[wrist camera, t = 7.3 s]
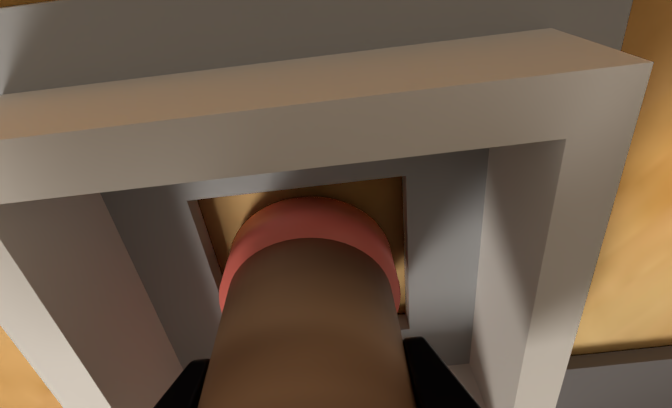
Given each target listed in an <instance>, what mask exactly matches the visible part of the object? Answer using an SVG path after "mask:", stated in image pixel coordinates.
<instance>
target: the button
mask: <svg viewBox="0 0 672 408" xmlns="http://www.w3.org/2000/svg"><path fill="white" fill-rule="evenodd" d="M297 238H324V239H330V240H335V241H339V242H343V243H346V244H348V245H351V246H353V247H356V248H357V249H359V250H361V251H363V252H365V253H366V254H367V255H369V256H370V257H371V258H373V259H374V260H375V261H376V262H377V263H378V264H379V265H380V267H381V268H382V269H383V271H384V272H385V274H386V276H387V278H388V280H389V283H390V286H391V289H392V294H393V298H394V303H395V307H396V312H398V309H399V304H400V286H399V281H398V277H397V273H396V269H395V265H394V261H393V257H392V253H391V249H390V246H389V242H388V240H387V238H386V236H385V234H384V232H383V231H382V229H381V228H380V226H379V225H378V224H377V223H376V222H375V221H374V220H373V219H372V218H371V217H370V216H368V215H367V214H366V213H365V212H363V211H361V210H360V209H358V208H356V207H354V206H352V205H350V204H347V203H345V202H342V201H339V200H335V199H330V198H324V197H311V196H310V197H297V198H291V199H286V200H283V201H279V202H276V203H274V204H271V205H269V206H267V207H265V208H263V209H262V210H260V211H258V212H257V213H255V214H254V215H253V216H252V217H250V218H249V219H248V220H247V221H246V222H245V223H244V224H243V225H242V227H241V228H240V229H239V231H238V232H237V234H236V236H235V238H234V240H233V242H232V246H231V249H230V253H229V256H228V260H227V263H226V267H225V270H224V274H223V277H222V281H221V284H220V289H219V304H220V308H221V312H223V308H224V304H225V300H226V296H227V293H228V289H229V286H230V282H231V280H232V278H233V276H234V274H235V272H236V271H237V270H238V268H239V267H240V266H241V265H242V264H243V263H244V262H245V261H246V260H247V259H248V258H249V257H251V256H252V255H253V254H255V253H256V252H258V251H260V250H261V249H263V248H265V247H268V246H270V245H272V244H275V243H278V242H282V241H285V240H291V239H297Z"/></svg>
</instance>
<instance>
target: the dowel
mask: <svg viewBox="0 0 672 408" xmlns="http://www.w3.org/2000/svg"><path fill="white" fill-rule="evenodd" d="M198 408H418V407H417V403H416V399H415V394H414V390H413V385H412V381H411V376H410V372H409V367H408V363H407V358H406V354H405V349H404V344H403V339H402V335H401V330H400V325H399V321H398V316H397V312H396V307H395V303H394V298H393V294H392V289H391V286H390V283H389V280H388V278H387V276H386V274H385V272H384V271H383V269H382V268H381V267H380V265H379V264H378V263H377V262H376V261H375V260H374V259H373V258H371V257H370V256H369V255H367V254H366V253H365V252H363V251H361V250H359V249H357V248H356V247H353V246H351V245H348V244H346V243H343V242H339V241H335V240H330V239H324V238H297V239H291V240H285V241H282V242H278V243H275V244H272V245H270V246H268V247H265V248H263V249H261V250H260V251H258V252H256V253H255V254H253V255H252V256H251V257H249V258H248V259H247V260H246V261H245V262H244V263H243V264H242V265H241V266H240V267H239V268H238V270H237V271H236V272H235V274H234V276H233V278H232V280H231V282H230V286H229V289H228V293H227V296H226V300H225V304H224V308H223V312H222V316H221V320H220V323H219V327H218V331H217V335H216V339H215V343H214V346H213V350H212V354H211V358H210V362H209V366H208V370H207V373H206V377H205V381H204V385H203V389H202V393H201V396H200V400H199V404H198Z"/></svg>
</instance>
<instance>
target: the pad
mask: <svg viewBox="0 0 672 408" xmlns="http://www.w3.org/2000/svg"><path fill="white" fill-rule="evenodd" d="M556 408H672V346H664V347H654V348H644V349H635V350H625V351H615V352H606V353H596V354H587V355H577V356H570V358H569V362H568V365H567V369H566V372H565V376H564V379H563V383H562V386H561V390H560V393H559V397H558V400H557V404H556Z"/></svg>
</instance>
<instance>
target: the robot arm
mask: <svg viewBox="0 0 672 408" xmlns="http://www.w3.org/2000/svg"><path fill="white" fill-rule="evenodd" d="M403 344H404V349H405V354H406V358H407V363H408V367H409V372H410V376H411V381H412V385H413V390H414V394H415V399H416V403H417V407H418V408H481V407H480V406H479V405H478V403H477V402H476V401H475V400H474V398H473V397H472V396H471V395H470V393H469V392H468V391H467V390H466V389H465V387H464V386H463V385H462V384H461V382H460V381H459V380H458V379H457V377H456V376H455V375H454V374H453V373H452V371H451V370H450V369H449V368H448V366H447V365H446V364H445V363H444V361H443V360H442V359H441V358H440V357H439V355H438V354H437V353H436V352H435V350H434V349H433V348H432V347H431V345H430V344H429V343H428V342H427V340H426V339H425V338H424V337H422V336H415V337H406V338H404V340H403ZM209 362H210V359H209V358H206V359H197V360H193V361H191V362H190V363H189V364H188V365H187V366H186V367H185V369H184V370H183V371H182V372H181V374H180V375H179V376H178V377H177V379H176V380H175V381H174V382H173V384H172V385H171V386H170V387H169V389H168V390H167V391H166V392H165V394H164V395H163V396H162V397H161V398H160V400H159V401H158V402H157V403H156V405H155V406H154V407H153V408H198V404H199V400H200V396H201V393H202V389H203V385H204V381H205V377H206V373H207V370H208V366H209Z"/></svg>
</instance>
